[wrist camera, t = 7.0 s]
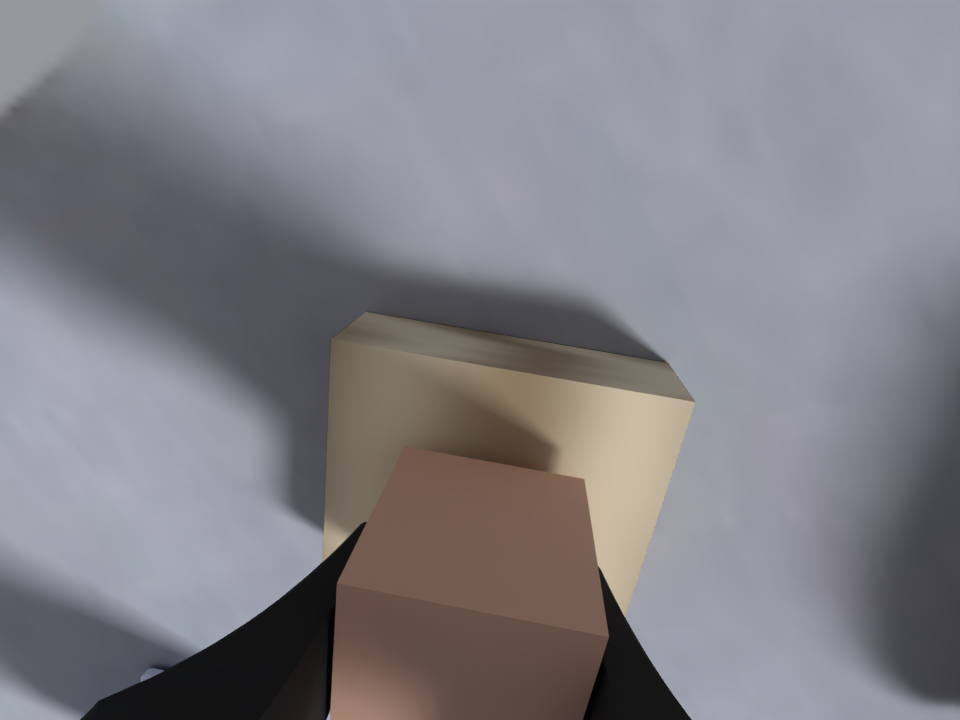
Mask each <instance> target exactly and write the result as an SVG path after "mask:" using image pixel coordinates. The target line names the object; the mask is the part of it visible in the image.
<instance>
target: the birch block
mask: <svg viewBox="0 0 960 720" xmlns="http://www.w3.org/2000/svg"><path fill="white" fill-rule="evenodd" d="M695 403H696V402H695V400H694V399H693V398H692V396H691V395H690V393H689V392H688V390H687V389H686V388H685V386H684V385H683V383H682V382H681V380H680V379H679V378H678V376H677V375H676V373H675V372H674V370H673V369H672V368H671V366H670V365H669V363H666V362H660V361H654V360H648V359H642V358H636V357H630V356H624V355H618V354H612V353H606V352H600V351H595V350H589V349H583V348H577V347H571V346H565V345H559V344H553V343H547V342H541V341H535V340H529V339H523V338H518V337H512V336H506V335H500V334H494V333H488V332H482V331H476V330H470V329H464V328H458V327H452V326H446V325H441V324H435V323H429V322H423V321H417V320H411V319H405V318H399V317H393V316H387V315H381V314H375V313H369V312H365V313H364V314H362V315H361V316H360V317H359V318H357V319H356V320H355V321H353V322H352V323H351V324H350V325H348V326H347V327H346V328H345V329H343V330H342V331H341V332H339V333H338V334H337V335H336V336H334V337H333V338H332V339H331V350H330V377H329V403H328V430H327V457H326V484H325V511H324V538H323V561H324V560H325V559H326V558H327V557H329V556H330V555H331V554H332V553H333V552H334V551H335V550H336V549H337V548H338V547H339V546H340V545H341V544H342V543H343V542H344V541H345V540H346V539H347V538H348V537H349V536H350V535H351V534H352V533H353V532H354V530H355V529H356V528H357V527H358V526H359V525H360V524H361V523H363V522H367V521H368V519H369V517H370V515H371V513H372V511H373V509H374V507H375V505H376V503H377V501H378V499H379V497H380V495H381V493H382V491H383V489H384V487H385V485H386V483H387V481H388V479H389V477H390V475H391V473H392V470H393V468H394V466H395V464H396V462H397V460H398V458H399V456H400V454H401V452H402V450H403V448H404V446H406V447H412V448H417V449H423V450H428V451H434V452H439V453H445V454H450V455H456V456H461V457H467V458H472V459H478V460H483V461H489V462H494V463H500V464H505V465H511V466H516V467H522V468H527V469H532V470H538V471H543V472H549V473H554V474H560V475H565V476H571V477H576V478H582V479H584V480H585V486H586V493H587V499H588V505H589V512H590V518H591V525H592V531H593V537H594V544H595V550H596V557H597V563H598V566H599V568H600V569H601V570H602V573H603V575H604V577H605V579H606V581H607V583H608V585H609V587H610V589H611V591H612V593H613V595H614V597H615V599H616V601H617V603H618V605H619V607H620V609H621V611H622V613H623V615H624V616H625V617H626V613H627V610H628V607H629V604H630V601H631V598H632V595H633V592H634V589H635V586H636V583H637V580H638V577H639V574H640V571H641V568H642V565H643V562H644V559H645V555H646V552H647V549H648V546H649V543H650V540H651V537H652V534H653V531H654V528H655V525H656V522H657V519H658V516H659V513H660V510H661V507H662V504H663V501H664V497H665V494H666V491H667V488H668V485H669V482H670V479H671V476H672V473H673V470H674V467H675V464H676V461H677V458H678V455H679V452H680V449H681V446H682V443H683V440H684V436H685V433H686V430H687V427H688V424H689V421H690V418H691V415H692V412H693V409H694V406H695Z"/></svg>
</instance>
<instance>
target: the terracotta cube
mask: <svg viewBox="0 0 960 720" xmlns="http://www.w3.org/2000/svg"><path fill="white" fill-rule="evenodd" d="M608 639H609V633H608V627H607V621H606V614H605V608H604V601H603V595H602V589H601V582H600V576H599V569H598V563H597V557H596V550H595V544H594V537H593V531H592V525H591V518H590V512H589V505H588V499H587V493H586V486H585V480H584V479H582V478H576V477H571V476H565V475H560V474H554V473H549V472H543V471H538V470H532V469H527V468H522V467H516V466H511V465H505V464H500V463H494V462H489V461H483V460H478V459H472V458H467V457H461V456H456V455H450V454H445V453H439V452H434V451H428V450H423V449H417V448H412V447H406V446H404V448H403V450H402V452H401V454H400V456H399V458H398V460H397V462H396V464H395V466H394V468H393V470H392V473H391V475H390V477H389V479H388V481H387V483H386V485H385V487H384V489H383V491H382V493H381V495H380V497H379V499H378V501H377V503H376V505H375V507H374V509H373V511H372V513H371V515H370V517H369V519H368V521H367V523H366V525H365V527H364V529H363V531H362V533H361V535H360V537H359V539H358V541H357V543H356V545H355V548H354V550H353V552H352V554H351V556H350V558H349V560H348V562H347V564H346V566H345V568H344V570H343V572H342V574H341V576H340V578H339V580H338V582H337V591H336V610H335V630H334V649H333V669H332V688H331V708H330V720H583V717H584V714H585V711H586V708H587V705H588V702H589V699H590V695H591V692H592V689H593V686H594V683H595V680H596V676H597V673H598V670H599V667H600V664H601V661H602V658H603V654H604V651H605V648H606V645H607V642H608Z"/></svg>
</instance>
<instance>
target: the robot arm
mask: <svg viewBox="0 0 960 720" xmlns="http://www.w3.org/2000/svg"><path fill="white" fill-rule="evenodd" d="M366 523H367V522H363V523H361V524H360V525H359V526H358V527H357V528H356V529H355V530H354V532H353V533H352V534H351V535H350V536H349V537H348V538H347V539H346V540H345V541H344V542H343V543H342V544H341V545H340V546H339V547H338V548H337V549H336V550H335V551H334V552H333V553H332V554H331V555H330V556H329V557H327V558H326V559H325V560H324V561H323V562H322V563H321V564H320V565H319V566H318V567H317V568H316V569H314V570H313V571H312V572H311V573H310V574H309V575H308V576H307V577H305V578H304V579H303V580H302V581H301V582H299V583H298V584H297V585H296V586H295V587H293V588H292V589H291V590H290V591H289V592H287V593H286V594H285V595H284V596H282V597H281V598H280V599H279V600H277V601H276V602H275V603H273V604H272V605H271V606H269V607H268V608H267V609H265V610H264V611H263V612H261V613H260V614H258V615H257V616H256V617H254V618H253V619H251V620H250V621H248V622H247V623H245V624H244V625H242V626H241V627H239V628H238V629H236V630H235V631H233V632H232V633H230V634H228V635H227V636H225V637H224V638H222V639H221V640H219V641H217V642H216V643H214V644H212V645H211V646H209V647H207V648H206V649H204V650H202V651H200V652H198V653H197V654H195V655H193V656H191V657H189V658H187V659H186V660H184V661H182V662H180V663H178V664H176V665H175V666H173V667H171V668H169V669H167V670H165V671H164V670H160V669H155V668H150V669H147V670H146V671H145V672H144V674H143V675H142V676H141V678H140V681H141V682H140V683H138V684H135V685H133V686H131V687H129V688H127V689H124V690H122V691H120V692H118V693H115V694H113V695H111V696H109V697H106V698H104V699H101V700H99V701H98V702H97V703H96V704H95V705H94V707H93V708H92V709H91V710H90V711H89V712H88V713H87V714H86V715H85V716H84V717H83V718H82V719H81V720H330V708H331V688H332V669H333V649H334V630H335V610H336V591H337V582H338V580H339V578H340V576H341V574H342V572H343V570H344V568H345V566H346V564H347V562H348V560H349V558H350V556H351V554H352V552H353V550H354V548H355V545H356V543H357V541H358V539H359V537H360V535H361V533H362V531H363V529H364V527H365V525H366ZM598 569H599V576H600V582H601V589H602V595H603V601H604V608H605V614H606V621H607V627H608V633H609V639H608V642H607V645H606V648H605V651H604V654H603V658H602V661H601V664H600V667H599V670H598V673H597V676H596V680H595V683H594V686H593V689H592V692H591V695H590V699H589V702H588V705H587V708H586V711H585V714H584V717H583V720H691V718H690V717H689V716H688V714H687V713H686V712H685V710H684V709H683V708H682V706H681V705H680V704H679V702H678V701H677V700H676V698H675V697H674V695H673V694H672V693H671V691H670V690H669V688H668V687H667V685H666V684H665V682H664V681H663V679H662V678H661V676H660V675H659V673H658V672H657V670H656V669H655V667H654V666H653V664H652V662H651V661H650V659H649V658H648V656H647V655H646V653H645V651H644V650H643V648H642V646H641V645H640V643H639V641H638V639H637V638H636V636H635V634H634V632H633V631H632V629H631V627H630V625H629V624H628V622H627V620H626V618H625V616H624V615H623V613H622V611H621V609H620V607H619V605H618V603H617V601H616V599H615V597H614V595H613V593H612V591H611V589H610V587H609V585H608V583H607V581H606V579H605V577H604V575H603V573H602V570H601V569H600V568H599V566H598Z"/></svg>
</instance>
